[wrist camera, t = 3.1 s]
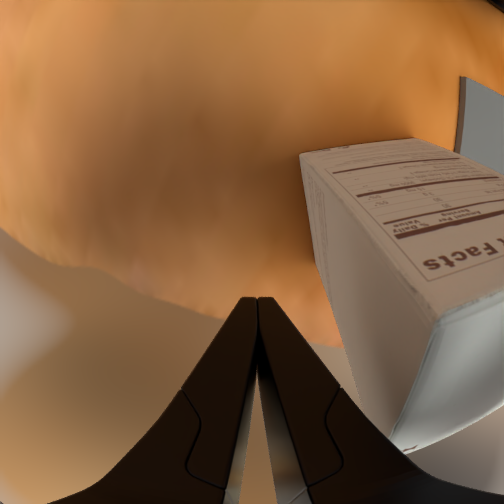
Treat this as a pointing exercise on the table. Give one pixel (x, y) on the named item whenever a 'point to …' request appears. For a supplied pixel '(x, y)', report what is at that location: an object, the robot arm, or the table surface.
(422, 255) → the supplement box
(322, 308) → the table surface
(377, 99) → the table surface
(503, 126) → the mat
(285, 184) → the table surface
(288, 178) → the table surface
